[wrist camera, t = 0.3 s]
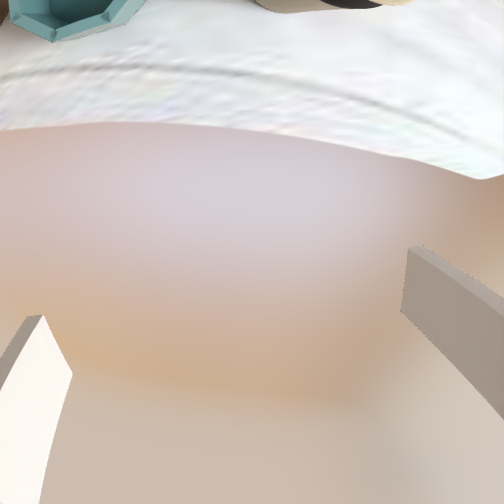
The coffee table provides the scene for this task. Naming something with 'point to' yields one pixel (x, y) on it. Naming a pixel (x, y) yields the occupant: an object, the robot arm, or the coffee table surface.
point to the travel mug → (324, 4)
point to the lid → (3, 9)
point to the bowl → (71, 16)
